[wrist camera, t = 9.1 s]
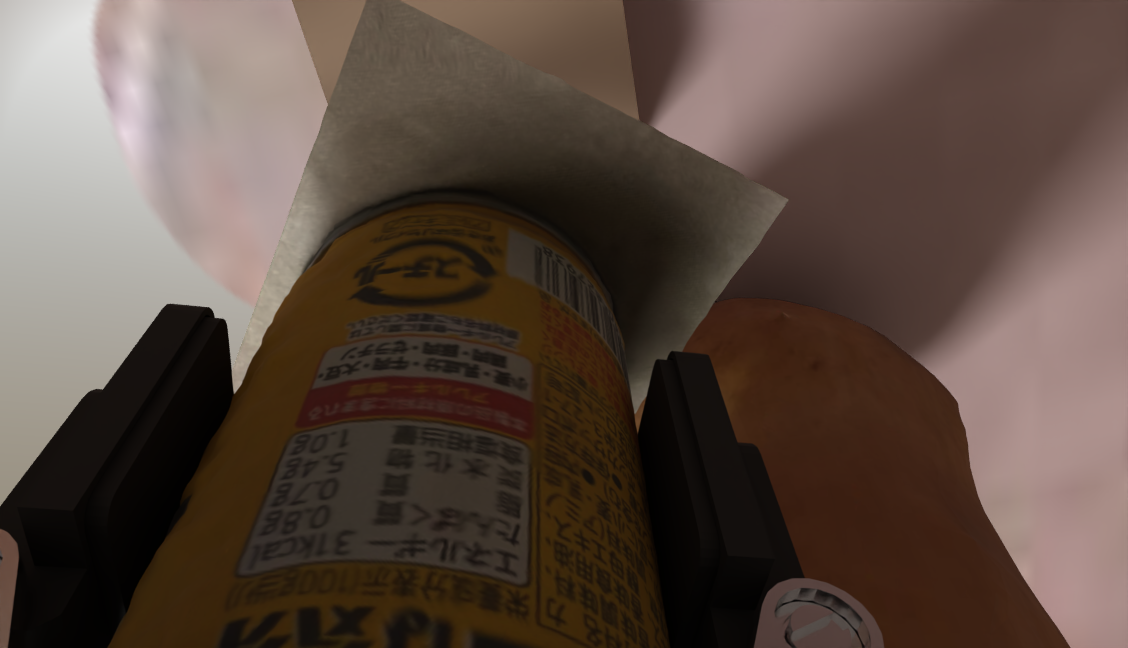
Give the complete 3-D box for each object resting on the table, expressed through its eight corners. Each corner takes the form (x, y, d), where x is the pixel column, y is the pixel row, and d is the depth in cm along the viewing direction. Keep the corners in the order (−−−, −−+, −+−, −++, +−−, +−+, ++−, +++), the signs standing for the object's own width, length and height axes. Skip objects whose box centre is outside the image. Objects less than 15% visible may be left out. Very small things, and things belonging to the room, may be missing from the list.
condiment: (221, 400, 16) (-337, 1456, 6) (374, -16, 12) (-556, 1004, 2) (557, 516, 18) (586, 1461, 8) (784, 191, 14) (1464, 1249, 4)
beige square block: (314, -70, 29) (275, -48, 24) (596, -130, 28) (605, -118, 24) (397, 191, 34) (376, 246, 30) (636, 147, 33) (650, 197, 29)
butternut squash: (581, 456, 42) (624, 1129, 20) (636, 217, 35) (787, 868, 13) (841, 484, 43) (1131, 1138, 22) (944, 260, 36) (1519, 908, 15)
